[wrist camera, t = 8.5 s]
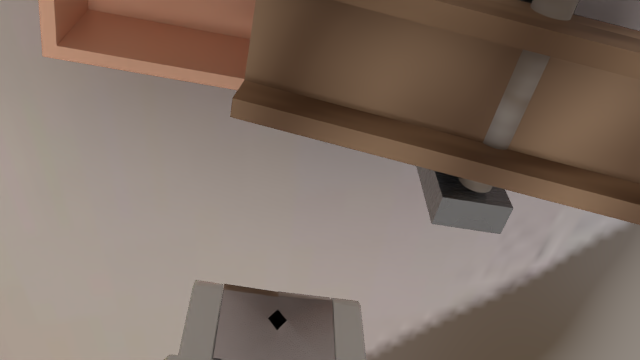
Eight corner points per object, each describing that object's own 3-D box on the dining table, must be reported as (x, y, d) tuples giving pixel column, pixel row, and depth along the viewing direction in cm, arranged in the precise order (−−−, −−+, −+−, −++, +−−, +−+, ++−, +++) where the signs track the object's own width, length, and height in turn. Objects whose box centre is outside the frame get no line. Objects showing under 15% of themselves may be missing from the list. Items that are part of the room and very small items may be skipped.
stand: (599, -119, 26) (733, -63, 18) (491, 130, 33) (550, 251, 25) (333, -183, 24) (347, -153, 16) (282, 94, 32) (273, 209, 24)
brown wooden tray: (853, 43, 20) (909, 76, 17) (705, 234, 25) (733, 280, 22) (278, -105, 20) (257, -91, 18) (245, 112, 25) (226, 146, 23)
